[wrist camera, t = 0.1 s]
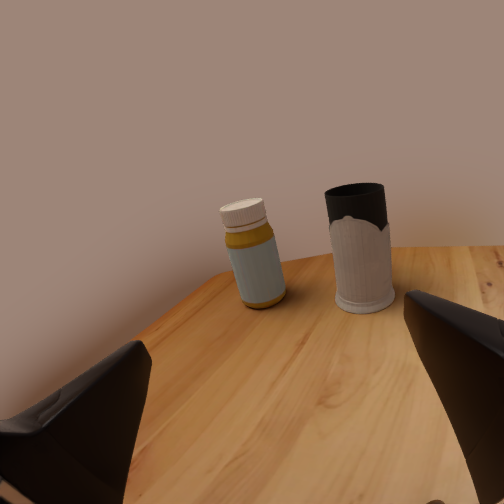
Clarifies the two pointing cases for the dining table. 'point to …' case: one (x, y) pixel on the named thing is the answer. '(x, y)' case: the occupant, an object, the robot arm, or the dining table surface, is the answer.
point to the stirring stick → (436, 502)
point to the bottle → (253, 253)
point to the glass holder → (360, 247)
